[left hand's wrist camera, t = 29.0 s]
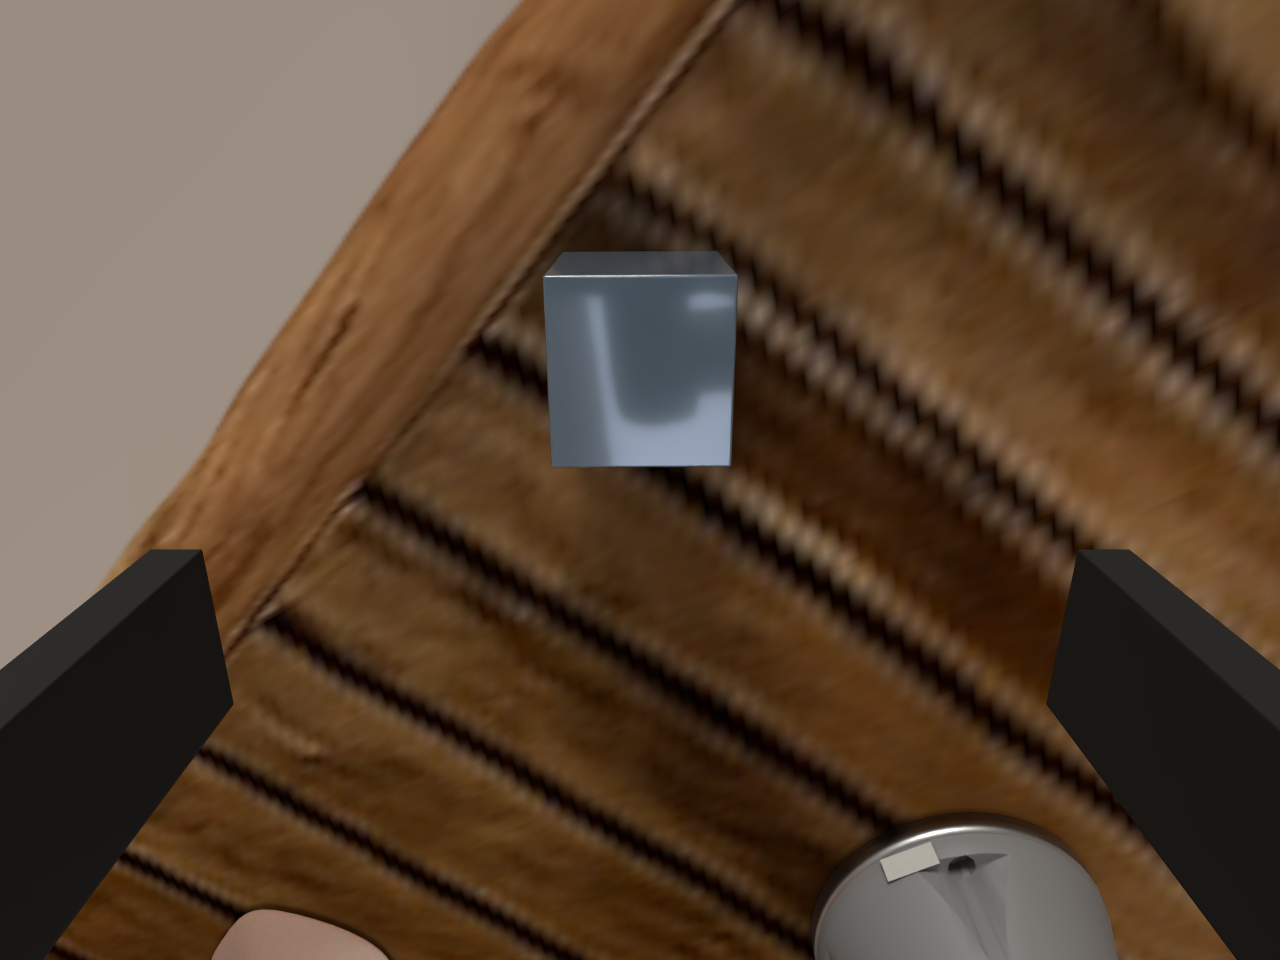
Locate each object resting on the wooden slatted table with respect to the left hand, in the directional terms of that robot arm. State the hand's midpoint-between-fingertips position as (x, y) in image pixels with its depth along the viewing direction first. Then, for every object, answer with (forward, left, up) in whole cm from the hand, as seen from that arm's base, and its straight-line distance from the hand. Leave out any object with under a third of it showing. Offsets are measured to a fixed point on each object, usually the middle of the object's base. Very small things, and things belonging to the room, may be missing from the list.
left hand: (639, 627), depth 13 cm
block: (0, 0, -23) cm, 23 cm away
